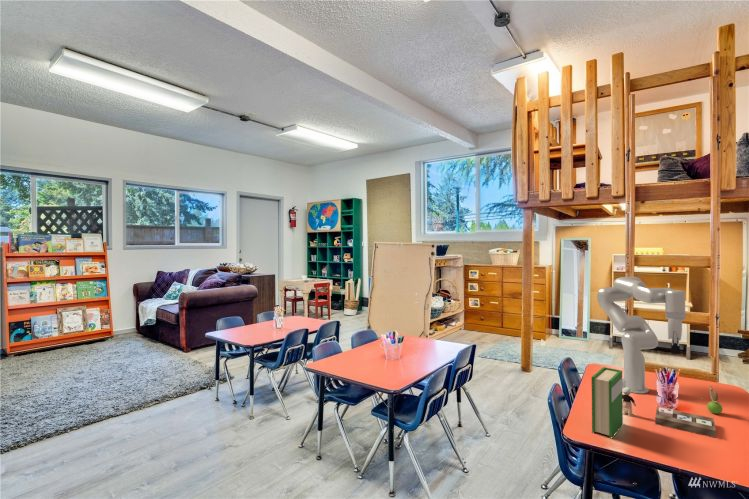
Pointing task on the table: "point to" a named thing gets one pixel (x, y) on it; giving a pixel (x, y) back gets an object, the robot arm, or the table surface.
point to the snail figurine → (714, 403)
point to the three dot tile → (684, 418)
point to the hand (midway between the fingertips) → (675, 353)
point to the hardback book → (607, 401)
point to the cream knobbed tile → (703, 422)
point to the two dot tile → (666, 412)
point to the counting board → (686, 423)
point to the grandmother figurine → (627, 402)
